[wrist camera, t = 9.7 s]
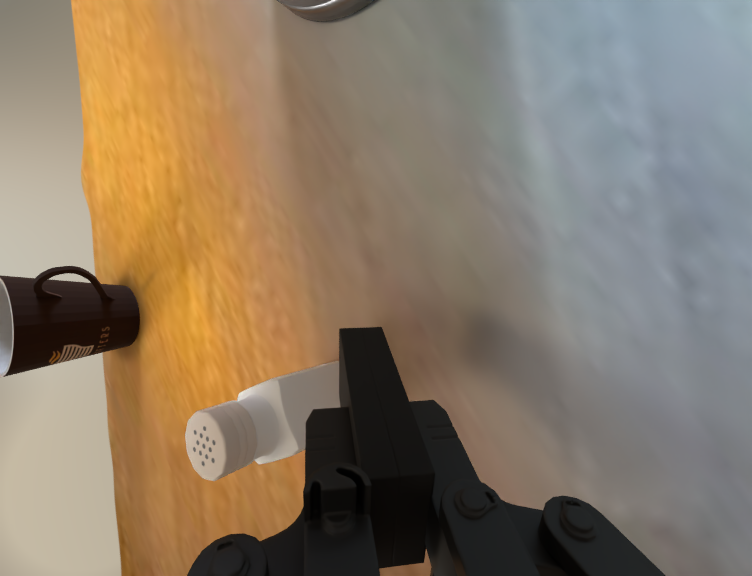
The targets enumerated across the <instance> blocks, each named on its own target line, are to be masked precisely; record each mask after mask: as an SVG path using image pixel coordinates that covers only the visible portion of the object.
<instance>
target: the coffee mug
mask: <svg viewBox="0 0 752 576" xmlns="http://www.w3.org/2000/svg"><path fill="white" fill-rule="evenodd" d="M64 273H74V274H78V275H81V276H83V277H85V278H87V279H88V280H89V281H90V282H91V283H84V282H71V281H59V280H47V279H49V278H51V277H53V276H55V275H59V274H64ZM138 329H139V308H138V304H137V300H136V298H135V296H134V293H133V292H132V291H131V289H130V288H128V287H127V286H120V285H108V284H100V282H99V281H98V280H97V278H96V277H95V276H93V275H92V274H91V273H89V272H88V271H86V270H84V269H82V268H80V267H75V266H64V267H55V268H51V269H48V270H46V271H44V272H42V273H41V274H40V275H38V276H37V277H36V278H35V279H34V278H23V277H10V276H0V377H4V376H8V375H13V374H17V373H20V372H25V371H29V370H33V369H37V368H41V367H45V366H49V365H53V364H57V363H61V362H65V361H69V360H73V359H77V358H82V357H85V356H90V355H94V354H98V353H102V352H106V351H110V350H114V349H118V348H122V347H126V346H129V345H131V344H132V343H133V342H134V341H135V339H136V336H137V334H138Z"/></svg>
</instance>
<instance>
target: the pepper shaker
mask: <svg viewBox="0 0 752 576" xmlns="http://www.w3.org/2000/svg"><path fill="white" fill-rule="evenodd" d="M339 407H340V399H339V361H333V362H330V363H326V364H322V365H319V366H315V367H312V368H308V369H304V370H301V371H297V372H294V373H290V374H286V375H283V376H279V377H276V378H272V379H269V380H267V381H265V382H262V383H260V384H257V385H255V386H253V387H251V388H248V389H246V390H244V391H243V392H241V393H239V395H238V399H237V401H235V400H234V401H229V402H225V403H222V404H220V405H216V406H212V407H209V408H206V409H203V410H199V411H196V412H195V414H194V415H193V416H192V417H191V418H190V419H189V420H188V424H187V429H186V433H185V438H186V447H187V453H188V456H189V458H190V461H191V463H192V466H193V468H194V469H195V470H196V471H197V473H198V474H199V475H200V476H201V477H202V478H203V479H207V480H212V481H216V480H218V479H220V478H222V477H224V476H226V475H228V474H230V473H233V472H235V471H236V470H239V469H241V468H243V467H245V466H247V465H249V464H251V463H252V462H253V461H254V460H255V461H256V462H257V463H258V464H264V463H269V462H273V461H277V460H280V459H284V458H287V457H290V456H293V455H295V454H297V453H299V452H301V451H303V450H305V444H306V421H307V419H308V417H309V415H310V414H311V412H312V410H313V409H324V408H339Z"/></svg>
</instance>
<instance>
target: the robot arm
mask: <svg viewBox="0 0 752 576" xmlns="http://www.w3.org/2000/svg"><path fill="white" fill-rule="evenodd" d="M277 1H278V2H280V3H281V4H283V5H284V6H285V7H287V8H288V9H289V10H291V11H292V12H293V13H295V14H296V15H298V16H300V17H302V18H305V19H308V20H314V21H329V20H335V19H339V18H342V17H345V16H347V15H350V14H352V13H354V12H356V11H358V10H360V9H362V8H364V7H365V6H367V5H368V4H370V3H371V2H373V1H374V0H277ZM339 399H340V407H339V408H324V409H313V410H312V412H311V414H310V415H309V417H308V419H307V421H306V444H305V450H306V452H305V487H304V491H303V498H304V507H303V509H302V511H301V514H300V515H299V517H298V518H297V519H296V521H295V522H294V523H293V524H291V525H290V526H289V527H288V528H287V529H285V530H283V531H282V532H280V533H278V534H276V535H274V536H272V537H269V538H267V539H265V540H262V541H259V540H257V539H256V538H255V537H253V536H250V535H247V534H230V535H227V536H225V537H222V538H220V539H217V540H215V541H214V542H213V543H211V544H210V545H209V546H208V547H206V548H205V549H204V550H202V552H201V553H200V555H199V556H198V557H197V559H196V560H195V562H194V563H193V565H192V567H191V569H190V571H189V573H188V575H187V576H380V572H379V568H386V567H393V566H401V565H409V564H416V563H424V559H425V551H426V549H427V552H428V556H429V559H430V563H431V566H432V568H431V575H430V576H665V575H664V574H663V573H662V572H661V571H660V570H659V569H658V568H657V567H656V566H655V565H654V564H653V563H652V562H651V561H650V560H649V559H648V558H647V557H646V556H645V555H644V554H643V553H642V552H641V551H640V550H638V549H637V548H636V547H635V546H634V545H633V544H632V543H631V542H630V541H629V540H628V539H627V538H626V537H625V536H624V535H623V534H622V533H621V532H620V531H619V530H618V529H617V528H616V527H615V526H614V525H613V524H612V523H611V522H610V521H609V520H607V519H606V518H605V517H604V516H603V515H602V514H601V513H600V512H599V511H598V510H596V509H595V508H594V507H592V506H591V505H590V504H588V503H586V502H584V501H581V500H579V499H577V498H573V497H568V496H558V497H553V498H551V499H550V500H549V501H547V502H546V504H545V507H544V510H538V509H532V508H527V507H522V506H517V505H513V504H510V503H507V502H505V501H502V500H501V499H500V497H499V496H498V495H497V493H496V492H495V491H494V490H493V489H491V488H490V487H488V486H487V485H486V484H484V483H481V481H480V480H479V478H478V476H477V474H476V472H475V470H474V468H473V466H472V464H471V462H470V460H469V458H468V455H467V453H466V451H465V449H464V447H463V445H462V443H461V441H460V439H459V438H458V435H457V433H456V431H455V429H454V427H453V426H452V422H451V420H450V418H449V416H448V414H447V412H446V411H445V410H444V409H443V408H442V407H441V406H440V405H439V404H438V403H436V402H435V401H434V400H427V401H412V402H409V400H408V397H407V395H406V392H405V389H404V386H403V384H402V381H401V378H400V376H399V373H398V370H397V367H396V365H395V362H394V359H393V357H392V354H391V351H390V348H389V346H388V343H387V340H386V337H385V335H384V332H383V329H382V327H371V328H343V329H340V331H339Z"/></svg>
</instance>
